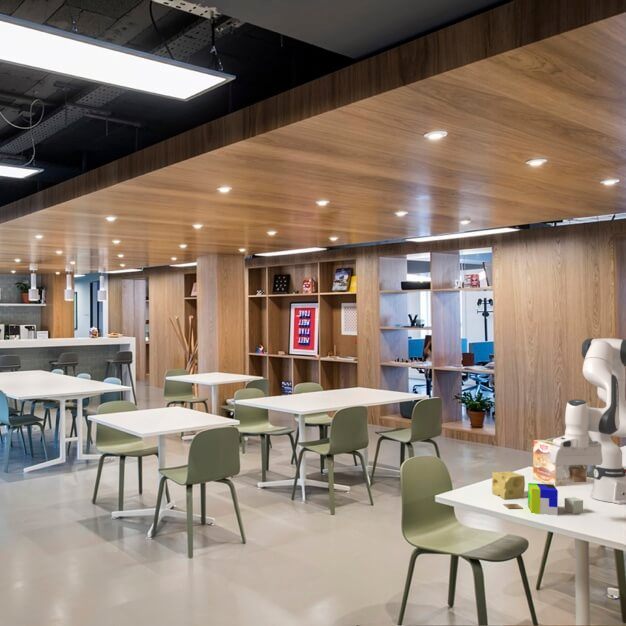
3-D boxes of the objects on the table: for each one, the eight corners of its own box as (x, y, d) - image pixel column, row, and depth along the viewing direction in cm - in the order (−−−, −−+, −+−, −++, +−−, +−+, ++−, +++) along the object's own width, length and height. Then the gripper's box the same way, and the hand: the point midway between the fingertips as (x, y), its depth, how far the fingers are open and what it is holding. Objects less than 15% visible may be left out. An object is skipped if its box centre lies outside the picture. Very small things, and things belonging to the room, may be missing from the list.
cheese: (504, 500, 274) (504, 477, 274) (490, 493, 284) (491, 471, 284) (524, 498, 277) (525, 475, 277) (510, 492, 287) (511, 470, 287)
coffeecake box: (532, 479, 312) (532, 440, 313) (543, 478, 315) (543, 439, 315) (554, 486, 298) (555, 445, 299) (566, 485, 301) (566, 444, 302)
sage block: (573, 509, 262) (574, 497, 262) (583, 512, 257) (583, 500, 257) (564, 510, 260) (564, 498, 260) (573, 513, 255) (573, 501, 255)
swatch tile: (516, 504, 266) (516, 503, 266) (522, 508, 260) (522, 507, 260) (503, 504, 266) (503, 504, 266) (509, 509, 260) (509, 508, 260)
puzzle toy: (557, 515, 252) (557, 490, 252) (531, 513, 254) (531, 488, 254) (553, 508, 262) (553, 484, 262) (528, 506, 264) (528, 482, 264)
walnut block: (579, 478, 251) (579, 466, 251) (586, 482, 246) (586, 469, 246) (567, 479, 250) (567, 466, 250) (574, 482, 245) (574, 469, 245)
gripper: (596, 439, 252) (596, 474, 252) (548, 439, 250) (548, 474, 250) (606, 442, 246) (605, 477, 246) (556, 442, 244) (556, 478, 244)
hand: (576, 476), depth 248 cm, fingers closed on walnut block, 5 cm apart
